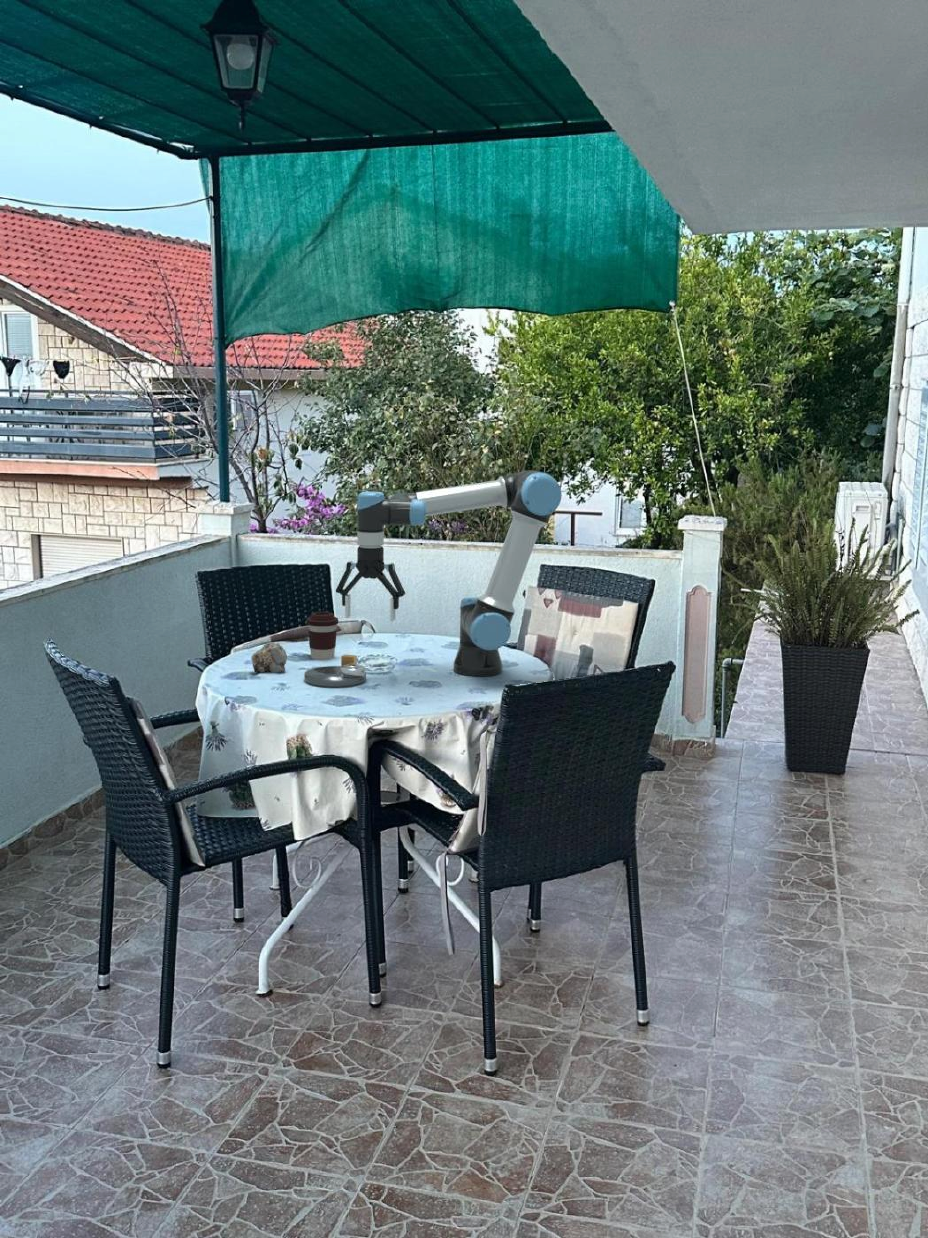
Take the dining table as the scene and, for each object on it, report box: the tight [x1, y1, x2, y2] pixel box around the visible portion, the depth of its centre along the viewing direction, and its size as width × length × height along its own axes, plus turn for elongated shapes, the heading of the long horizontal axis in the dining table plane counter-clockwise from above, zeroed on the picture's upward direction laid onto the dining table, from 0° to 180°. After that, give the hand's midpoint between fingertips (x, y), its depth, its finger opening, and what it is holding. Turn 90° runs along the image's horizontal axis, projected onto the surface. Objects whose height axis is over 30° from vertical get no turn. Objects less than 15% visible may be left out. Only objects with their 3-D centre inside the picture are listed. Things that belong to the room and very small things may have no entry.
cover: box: [340, 663, 366, 678], centre depth 340 cm, size 7×7×3 cm
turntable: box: [303, 654, 367, 689], centre depth 343 cm, size 18×21×5 cm
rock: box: [250, 641, 288, 675], centre depth 351 cm, size 9×12×10 cm
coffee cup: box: [306, 611, 339, 661], centre depth 368 cm, size 10×10×15 cm
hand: (370, 618), depth 338 cm, fingers open, 13 cm apart
